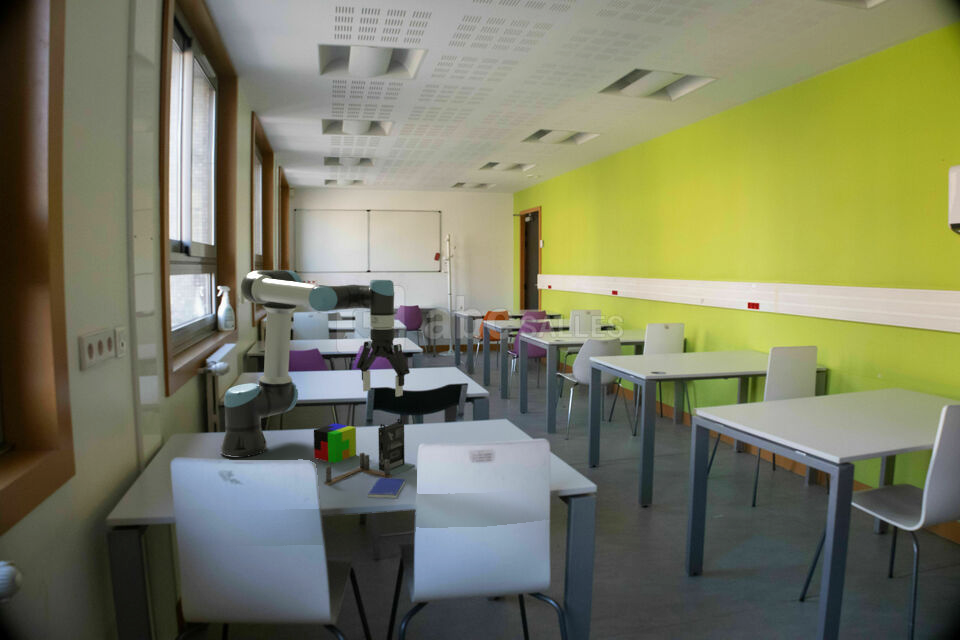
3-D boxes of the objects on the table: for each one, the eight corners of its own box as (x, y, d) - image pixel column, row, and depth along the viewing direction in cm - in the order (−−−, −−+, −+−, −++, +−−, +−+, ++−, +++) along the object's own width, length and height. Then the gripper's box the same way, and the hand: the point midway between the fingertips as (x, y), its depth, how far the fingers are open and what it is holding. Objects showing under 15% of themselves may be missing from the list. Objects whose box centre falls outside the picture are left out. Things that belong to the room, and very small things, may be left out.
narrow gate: (387, 478, 180) (387, 461, 179) (362, 472, 185) (362, 455, 185) (391, 476, 182) (391, 459, 181) (367, 470, 187) (366, 454, 186)
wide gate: (324, 484, 175) (324, 466, 175) (361, 468, 189) (361, 452, 188) (329, 485, 174) (328, 468, 174) (366, 469, 188) (366, 453, 187)
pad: (367, 469, 188) (367, 468, 187) (389, 460, 197) (389, 458, 197) (393, 476, 182) (393, 474, 182) (415, 465, 191) (415, 464, 191)
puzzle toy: (335, 450, 207) (334, 423, 207) (356, 455, 202) (355, 427, 201) (314, 458, 199) (313, 430, 198) (335, 463, 194) (334, 434, 193)
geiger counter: (397, 460, 195) (396, 417, 193) (407, 463, 192) (406, 419, 191) (374, 469, 186) (374, 423, 185) (385, 472, 184) (384, 426, 182)
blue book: (395, 494, 165) (404, 478, 177) (367, 493, 165) (378, 477, 178) (395, 499, 165) (404, 483, 177) (367, 498, 165) (378, 482, 178)
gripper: (345, 326, 188) (346, 390, 190) (405, 331, 175) (405, 400, 177) (361, 324, 194) (361, 386, 197) (420, 329, 182) (420, 395, 184)
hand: (382, 393), depth 187 cm, fingers open, 13 cm apart
